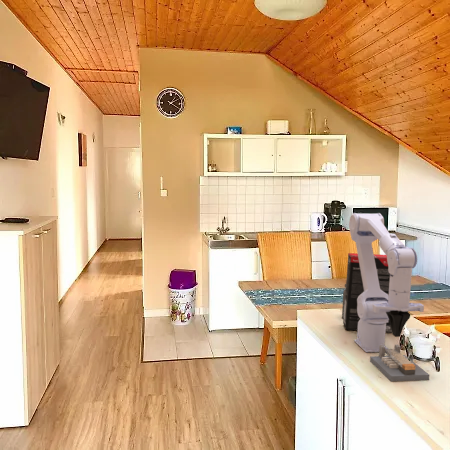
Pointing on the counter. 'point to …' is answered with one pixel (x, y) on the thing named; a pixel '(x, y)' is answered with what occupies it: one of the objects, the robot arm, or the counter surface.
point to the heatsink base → (397, 367)
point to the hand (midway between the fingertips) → (396, 335)
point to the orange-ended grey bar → (400, 359)
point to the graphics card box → (362, 288)
